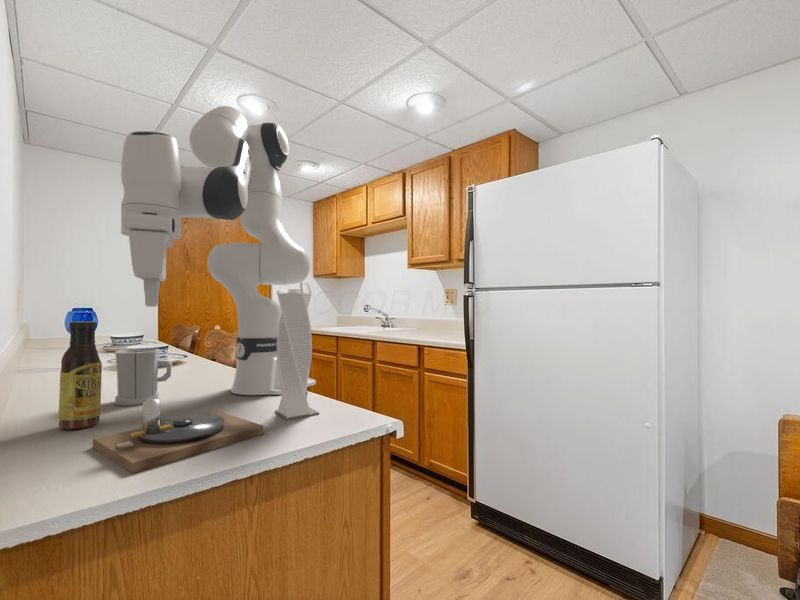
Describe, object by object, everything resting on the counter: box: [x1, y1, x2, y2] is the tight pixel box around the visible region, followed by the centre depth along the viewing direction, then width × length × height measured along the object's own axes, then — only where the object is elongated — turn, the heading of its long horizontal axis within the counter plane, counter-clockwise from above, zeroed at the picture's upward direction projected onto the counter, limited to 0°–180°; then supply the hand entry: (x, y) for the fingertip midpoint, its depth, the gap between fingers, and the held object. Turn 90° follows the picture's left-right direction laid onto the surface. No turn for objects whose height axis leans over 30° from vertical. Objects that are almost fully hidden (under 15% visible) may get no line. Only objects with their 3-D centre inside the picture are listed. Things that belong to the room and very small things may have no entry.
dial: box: [131, 397, 224, 444], centre depth 69 cm, size 14×13×6 cm
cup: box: [114, 347, 173, 407], centre depth 97 cm, size 10×9×12 cm
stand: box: [92, 410, 265, 475], centre depth 70 cm, size 21×16×2 cm
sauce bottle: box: [58, 320, 103, 431], centre depth 78 cm, size 7×6×20 cm
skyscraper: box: [274, 280, 320, 421], centre depth 86 cm, size 8×8×28 cm
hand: (151, 306), depth 71 cm, fingers closed
